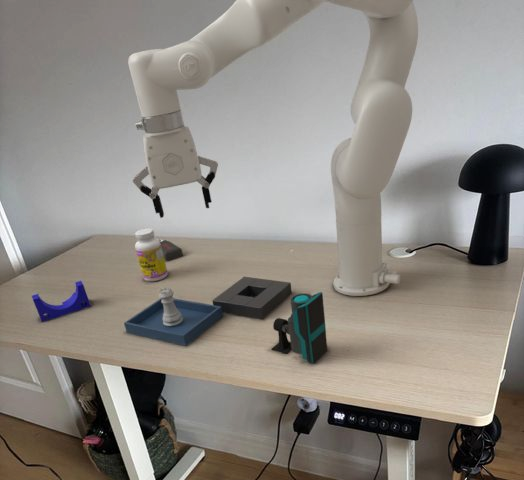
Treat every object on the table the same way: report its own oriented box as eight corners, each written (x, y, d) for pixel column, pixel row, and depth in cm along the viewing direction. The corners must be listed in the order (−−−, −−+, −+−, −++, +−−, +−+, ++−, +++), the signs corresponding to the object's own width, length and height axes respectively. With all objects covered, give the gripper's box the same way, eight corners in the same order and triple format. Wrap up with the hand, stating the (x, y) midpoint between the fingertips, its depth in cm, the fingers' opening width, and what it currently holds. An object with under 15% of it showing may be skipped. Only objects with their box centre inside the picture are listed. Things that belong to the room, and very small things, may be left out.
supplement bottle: (139, 281, 139) (125, 236, 133) (152, 271, 144) (140, 226, 138) (160, 282, 137) (147, 236, 130) (172, 272, 142) (161, 226, 135)
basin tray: (223, 316, 115) (221, 306, 114) (186, 346, 106) (183, 335, 105) (165, 305, 124) (163, 296, 123) (126, 332, 115) (123, 322, 114)
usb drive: (166, 261, 150) (164, 252, 148) (152, 250, 159) (150, 242, 158) (183, 255, 152) (181, 246, 150) (168, 246, 161) (166, 237, 160)
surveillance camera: (277, 283, 97) (323, 291, 91) (285, 338, 103) (328, 349, 98) (259, 296, 93) (306, 305, 88) (268, 352, 100) (312, 364, 94)
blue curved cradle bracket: (87, 300, 134) (79, 278, 131) (90, 306, 130) (83, 284, 127) (39, 315, 130) (30, 293, 127) (42, 321, 126) (32, 299, 123)
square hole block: (292, 293, 120) (290, 282, 119) (262, 319, 111) (260, 308, 110) (245, 286, 127) (244, 276, 125) (214, 311, 118) (212, 300, 117)
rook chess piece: (181, 326, 113) (173, 293, 109) (161, 328, 113) (152, 295, 109) (184, 316, 117) (176, 284, 113) (165, 318, 117) (156, 286, 113)
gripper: (117, 135, 96) (143, 224, 105) (209, 117, 97) (227, 207, 106) (120, 129, 103) (144, 214, 111) (207, 113, 103) (223, 198, 112)
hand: (184, 211), depth 109 cm, fingers open, 9 cm apart
